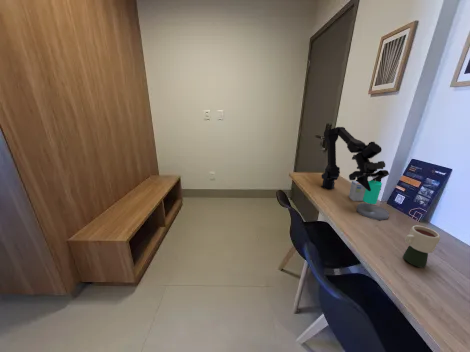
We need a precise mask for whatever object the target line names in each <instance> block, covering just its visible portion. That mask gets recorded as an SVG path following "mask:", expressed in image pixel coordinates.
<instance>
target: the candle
mask: <svg viewBox="0 0 470 352" xmlns="http://www.w3.org/2000/svg"><path fill="white" fill-rule="evenodd" d="M368 182H369V185H370V189H371V191H368V190H367V189H366V190H365V193H364V197H363V201H362V202H364V203H367V204H373V205H376V204H377V202H378V200H379V195H380V193H381V190H382V186H383V182H382V181H381V182H378V181H376V180H375V181H374V180H372V179H371V180H368ZM380 189H381V190H380Z"/></svg>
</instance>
